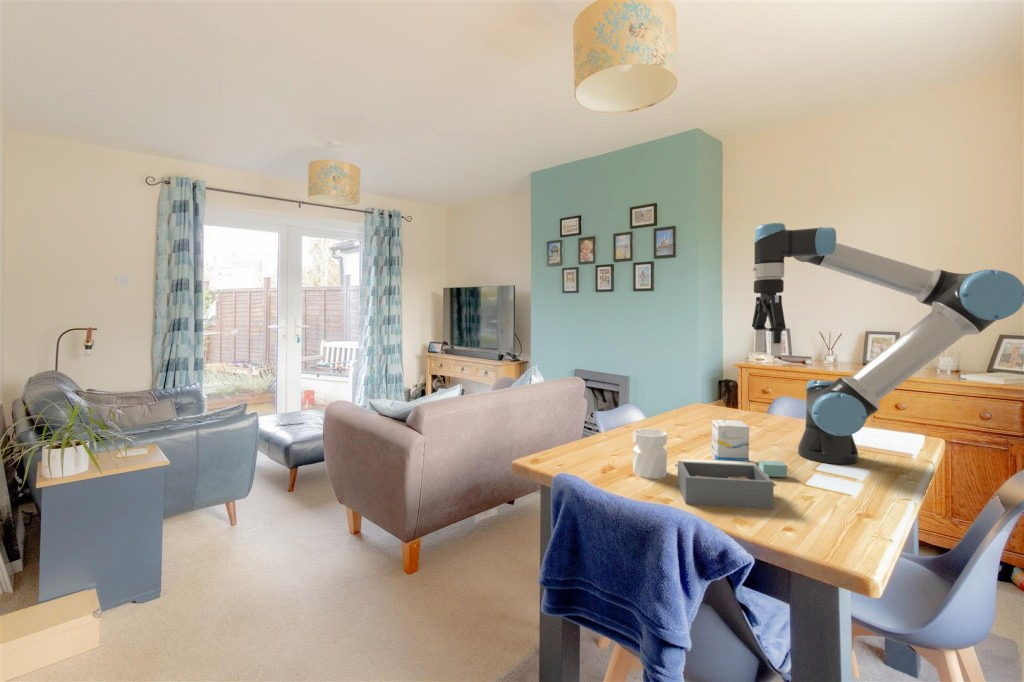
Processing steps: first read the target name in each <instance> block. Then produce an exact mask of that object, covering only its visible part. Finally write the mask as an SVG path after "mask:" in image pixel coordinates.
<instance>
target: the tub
mask: <svg viewBox="0 0 1024 682" xmlns="http://www.w3.org/2000/svg"><path fill="white" fill-rule="evenodd" d="M677 464H678V467H677V486H678V489H679V492H680V494H681V496H682V498H683V501H684V503H685V505H695V506H696V505H697V506H709V507H710V506H711V507H723V508H724V507H725V508H739V509H740V508H742V509H756V510H774V484H775V482H774V481H773V480H772V479H771V478H770V476H767V475H766V474H765V473H764V472H763V471H762V470H761V469H760V468H759V465H757V464H756V465H747V464H726V463H706V462H686V461H682V460H681V461H680V460H678V461H677ZM696 475H697V476H705V477H696ZM728 477H746V478H747V479H731V478H728Z"/></svg>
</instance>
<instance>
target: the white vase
mask: <svg viewBox="0 0 1024 682" xmlns="http://www.w3.org/2000/svg"><path fill="white" fill-rule="evenodd" d="M667 440H668V433H667V432H666V431H664V430H661V429H656V428H637V429H634V430H633V431H632V441H633V442H634V444H636V446H634V447H633V450H632V451H633V452H632V471H633V474H634V475H636V476H638V477H640V478H645V479H657V480H658V479H662V478H663V479H664V478H666V476H667V474H668V472H667V471H668V470H667V469H668V468H667V465H668V464H667V462H668V451H667V449H665V448H664V446H666V445H667V444H668V443H667Z"/></svg>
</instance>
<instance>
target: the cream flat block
mask: <svg viewBox="0 0 1024 682" xmlns="http://www.w3.org/2000/svg"><path fill="white" fill-rule="evenodd" d="M681 461H686V462H706V463H726V464H747V465H757V464H756V463H755V462H754V461H749V462H743V461H721V460H713V459H698V458H697V459H696V458H695V459H694V458H682V460H681ZM758 467H759V468H760V469H761V470H762V471H763V472H764V473H765V474H766V475H767V476H768V477H771V478H772V477H774V478H788V465H787V464H786V463H785V462H783V461H780V460H779V461H775V460H759V461H758Z"/></svg>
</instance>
